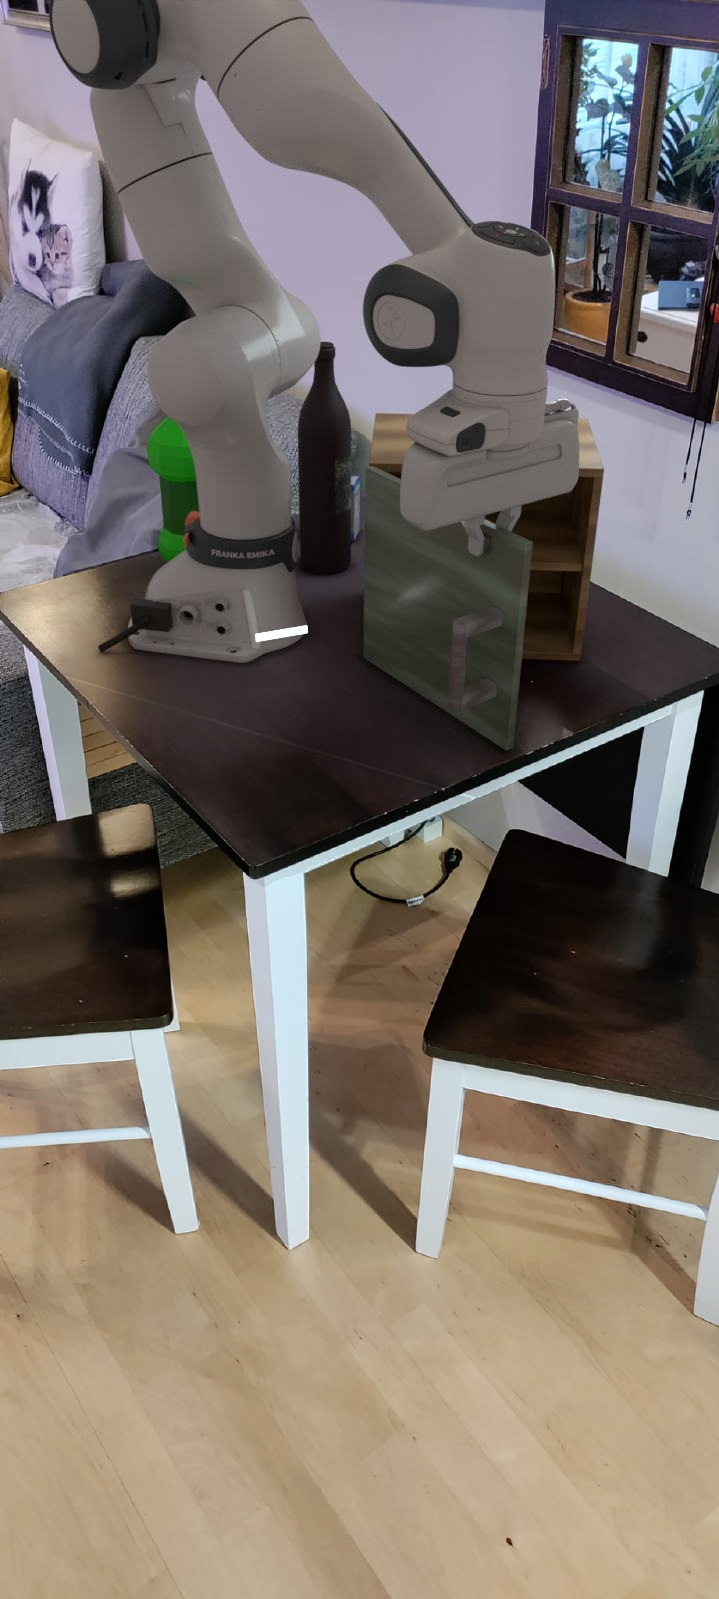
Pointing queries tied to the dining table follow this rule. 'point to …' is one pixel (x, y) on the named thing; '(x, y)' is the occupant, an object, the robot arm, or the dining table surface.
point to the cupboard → (537, 542)
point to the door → (445, 611)
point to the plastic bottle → (173, 484)
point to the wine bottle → (324, 472)
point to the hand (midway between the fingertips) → (488, 550)
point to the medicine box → (355, 506)
